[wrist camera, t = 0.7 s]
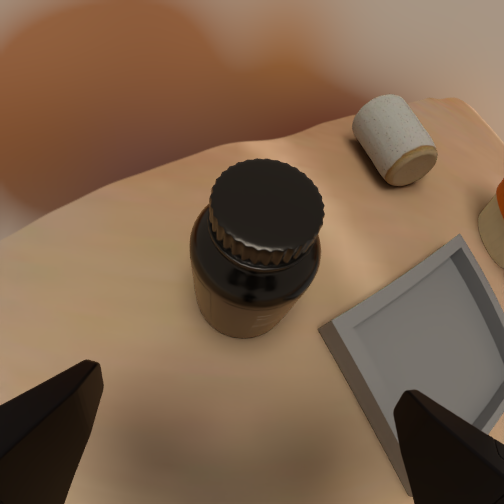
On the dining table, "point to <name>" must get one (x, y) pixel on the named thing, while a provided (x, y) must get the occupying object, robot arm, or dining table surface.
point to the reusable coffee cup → (494, 226)
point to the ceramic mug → (394, 140)
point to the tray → (425, 345)
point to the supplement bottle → (255, 246)
